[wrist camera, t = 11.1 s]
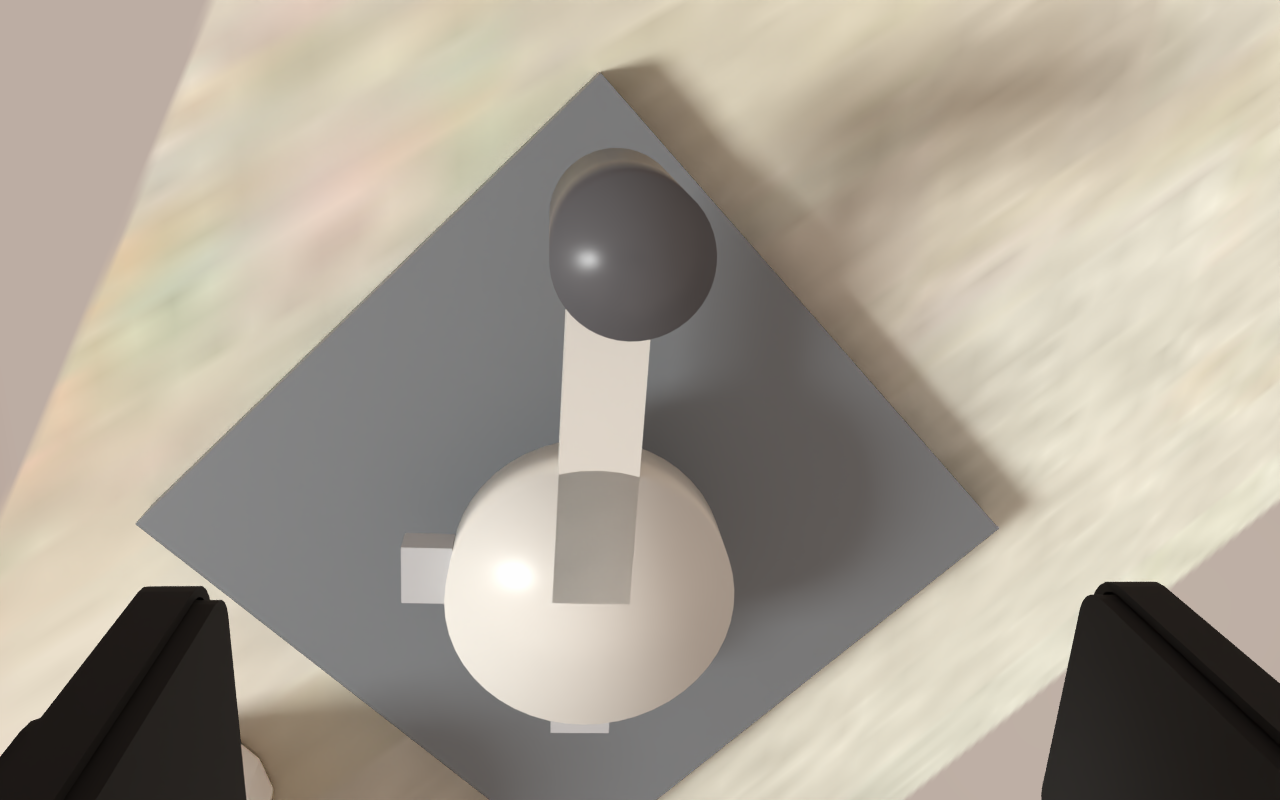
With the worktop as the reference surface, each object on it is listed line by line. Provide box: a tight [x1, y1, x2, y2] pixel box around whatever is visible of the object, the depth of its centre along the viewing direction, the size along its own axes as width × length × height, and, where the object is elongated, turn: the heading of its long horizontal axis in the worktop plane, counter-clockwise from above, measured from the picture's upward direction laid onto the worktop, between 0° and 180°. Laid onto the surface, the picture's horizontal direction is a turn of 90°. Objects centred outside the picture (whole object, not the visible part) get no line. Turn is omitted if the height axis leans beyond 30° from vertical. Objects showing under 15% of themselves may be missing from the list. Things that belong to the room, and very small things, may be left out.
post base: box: [136, 72, 999, 800], centre depth 35 cm, size 22×22×4 cm
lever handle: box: [401, 148, 734, 733], centre depth 28 cm, size 20×10×8 cm, turn 176°
